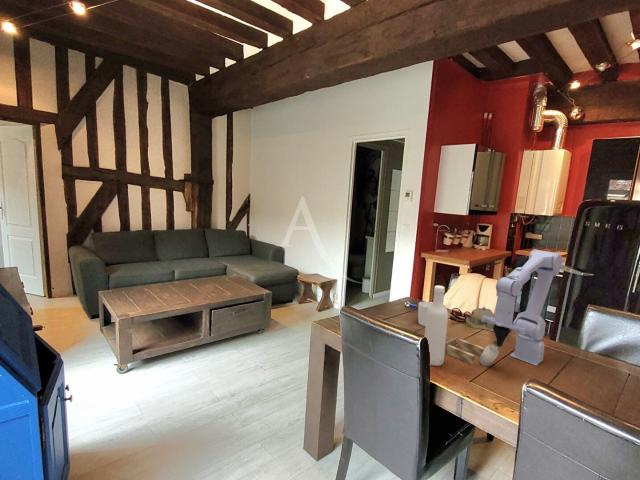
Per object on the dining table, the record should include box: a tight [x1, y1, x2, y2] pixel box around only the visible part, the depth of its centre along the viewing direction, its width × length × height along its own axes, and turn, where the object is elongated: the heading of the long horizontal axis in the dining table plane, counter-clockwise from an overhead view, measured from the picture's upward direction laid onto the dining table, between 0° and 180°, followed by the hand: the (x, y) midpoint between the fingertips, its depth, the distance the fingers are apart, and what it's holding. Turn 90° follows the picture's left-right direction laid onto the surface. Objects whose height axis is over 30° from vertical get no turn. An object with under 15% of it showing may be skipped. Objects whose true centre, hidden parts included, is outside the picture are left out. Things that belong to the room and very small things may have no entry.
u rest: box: [445, 337, 486, 366], centre depth 135 cm, size 14×11×4 cm
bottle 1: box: [424, 284, 449, 367], centre depth 127 cm, size 8×8×30 cm
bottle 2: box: [478, 340, 500, 367], centre depth 126 cm, size 5×5×10 cm
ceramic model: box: [465, 306, 495, 332], centre depth 164 cm, size 14×11×10 cm
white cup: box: [417, 301, 433, 327], centre depth 165 cm, size 8×8×10 cm
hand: (499, 345), depth 123 cm, fingers closed, pressing on bottle 2
